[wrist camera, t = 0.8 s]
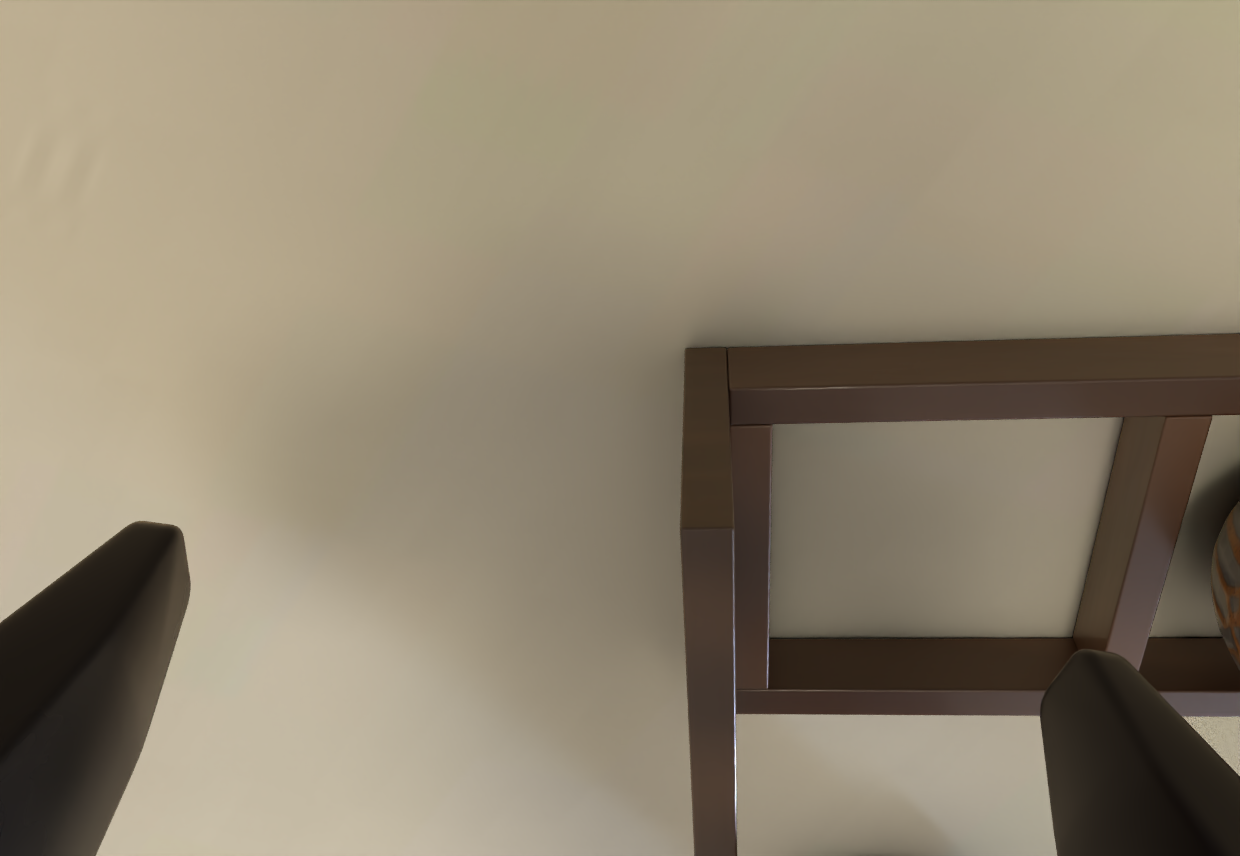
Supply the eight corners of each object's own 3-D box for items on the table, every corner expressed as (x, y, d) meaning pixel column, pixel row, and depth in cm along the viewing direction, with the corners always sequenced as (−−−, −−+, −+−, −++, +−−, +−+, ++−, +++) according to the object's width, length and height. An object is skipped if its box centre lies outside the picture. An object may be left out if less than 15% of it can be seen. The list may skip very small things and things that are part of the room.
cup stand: (1460, 663, 28) (1657, 896, 23) (696, 662, 30) (695, 876, 25) (1640, 321, 23) (1967, 514, 17) (684, 347, 25) (679, 528, 19)
